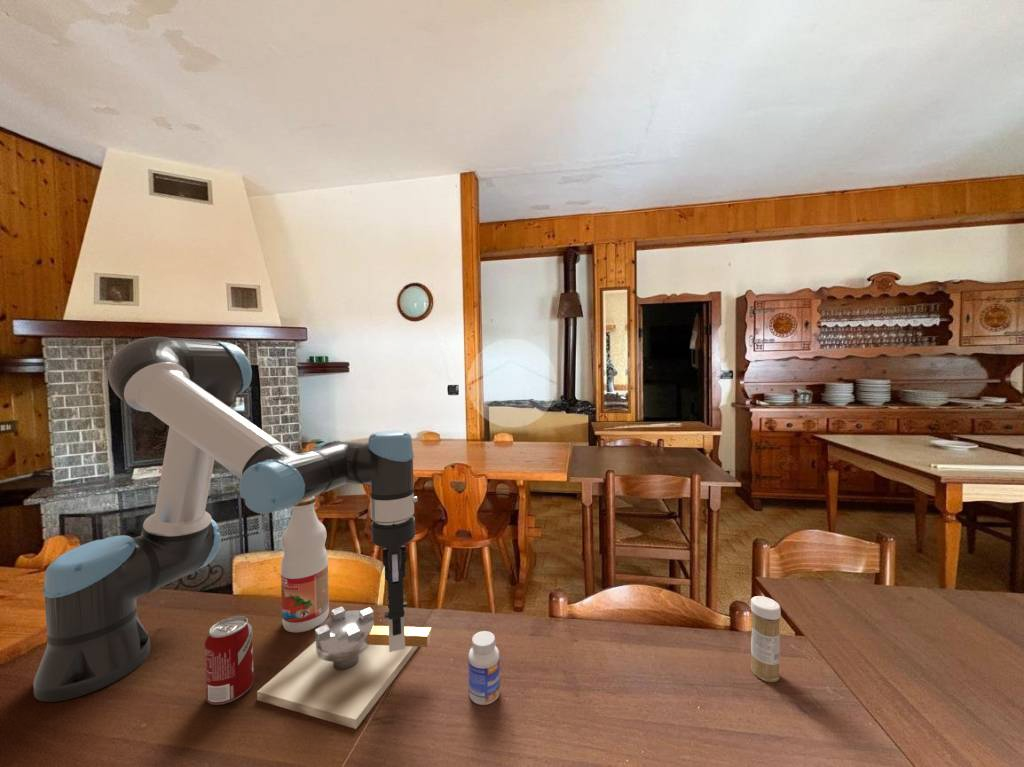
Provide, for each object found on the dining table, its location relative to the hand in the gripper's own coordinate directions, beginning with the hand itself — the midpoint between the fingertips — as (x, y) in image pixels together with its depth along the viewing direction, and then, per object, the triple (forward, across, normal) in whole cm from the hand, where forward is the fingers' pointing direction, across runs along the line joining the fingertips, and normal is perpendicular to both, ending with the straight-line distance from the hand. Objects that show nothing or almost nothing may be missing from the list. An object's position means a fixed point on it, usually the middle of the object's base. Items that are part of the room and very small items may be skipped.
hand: (397, 647), depth 71 cm
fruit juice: (+6, +25, +19) cm, 32 cm away
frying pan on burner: (+1, +4, +4) cm, 6 cm away
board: (+6, +6, +9) cm, 13 cm away
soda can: (+6, +7, +28) cm, 30 cm away
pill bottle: (+7, -7, -14) cm, 17 cm away
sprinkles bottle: (+8, -19, -64) cm, 67 cm away
